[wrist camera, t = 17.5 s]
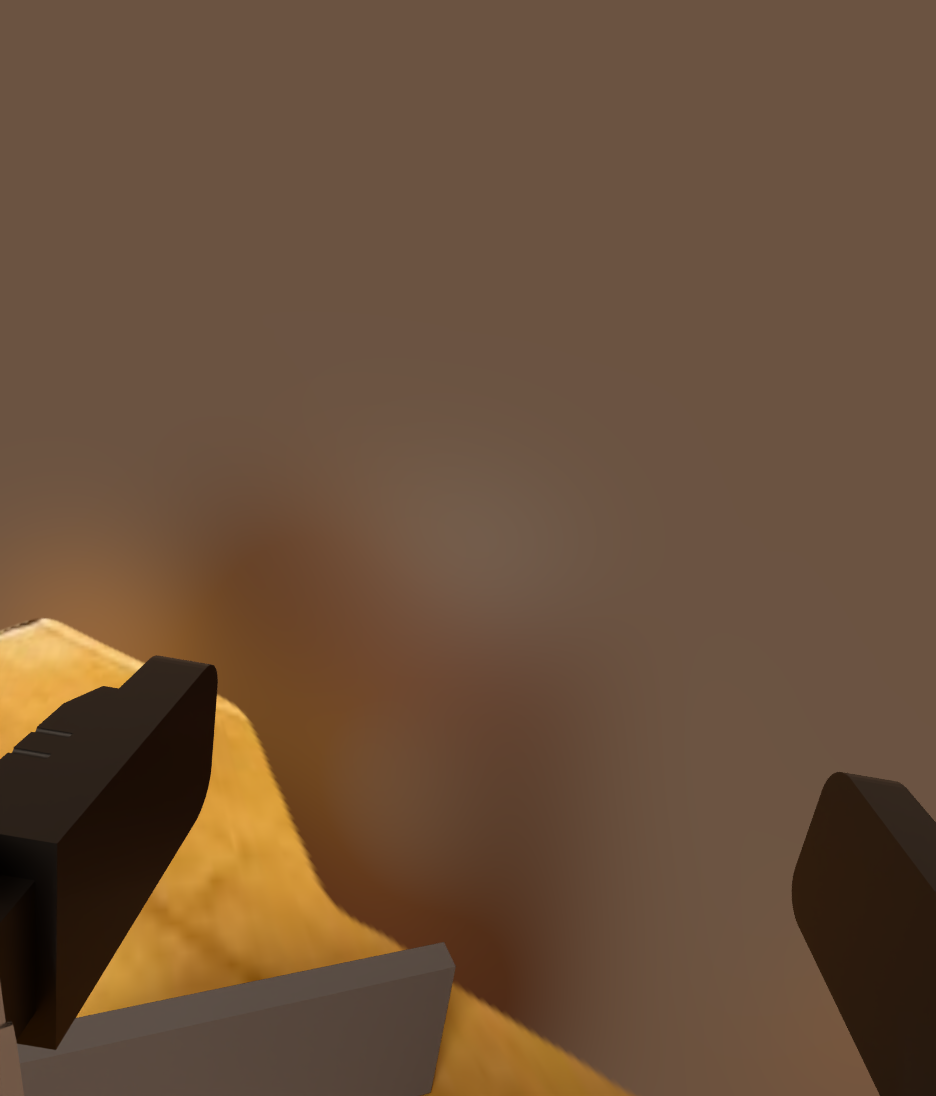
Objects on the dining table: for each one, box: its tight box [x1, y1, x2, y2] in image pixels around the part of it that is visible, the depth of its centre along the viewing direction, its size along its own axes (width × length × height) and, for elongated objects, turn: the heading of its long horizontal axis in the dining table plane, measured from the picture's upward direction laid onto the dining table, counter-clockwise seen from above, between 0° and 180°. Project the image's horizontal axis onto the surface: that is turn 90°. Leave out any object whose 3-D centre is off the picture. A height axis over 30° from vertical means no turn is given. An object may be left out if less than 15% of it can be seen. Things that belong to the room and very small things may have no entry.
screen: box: [17, 942, 456, 1096], centre depth 34 cm, size 20×2×8 cm, turn 113°
